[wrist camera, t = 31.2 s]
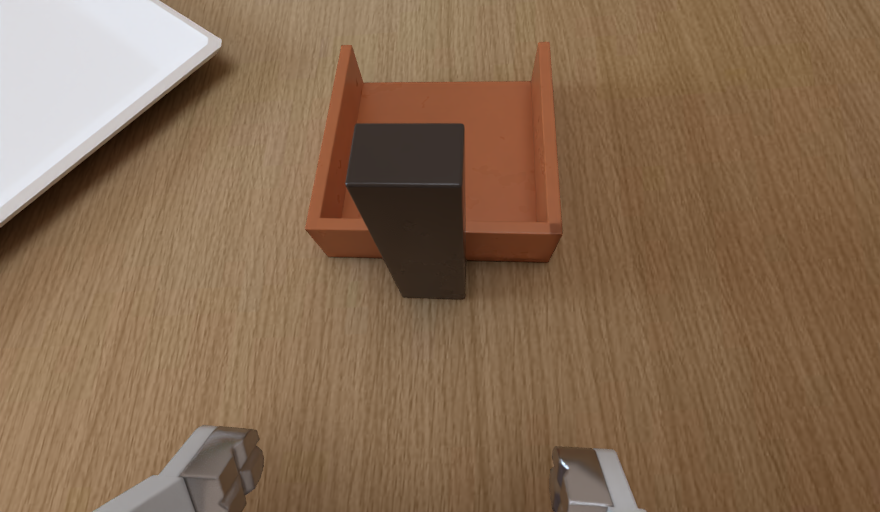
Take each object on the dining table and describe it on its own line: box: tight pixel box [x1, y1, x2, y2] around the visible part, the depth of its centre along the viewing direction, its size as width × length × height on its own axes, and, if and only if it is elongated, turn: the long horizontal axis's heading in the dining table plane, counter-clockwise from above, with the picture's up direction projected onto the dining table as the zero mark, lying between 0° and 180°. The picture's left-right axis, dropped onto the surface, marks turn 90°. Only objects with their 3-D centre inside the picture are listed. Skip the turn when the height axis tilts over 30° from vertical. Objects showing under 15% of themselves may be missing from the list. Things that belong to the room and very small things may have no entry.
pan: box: [305, 42, 563, 299], centre depth 17 cm, size 13×11×10 cm
